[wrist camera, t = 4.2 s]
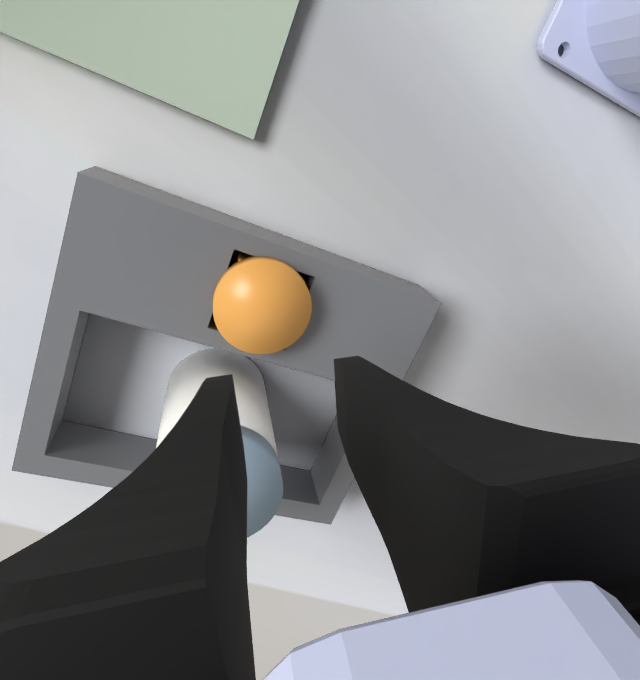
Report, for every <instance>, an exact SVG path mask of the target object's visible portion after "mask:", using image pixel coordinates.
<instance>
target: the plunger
mask: <svg viewBox="0 0 640 680" xmlns="http://www.w3.org/2000/svg"><path fill="white" fill-rule="evenodd" d="M311 312H312V302H311V296H310V293H309V290H308V288H307V286H306V284H305V281H304V279H303V277H302V275H301V274H300V272H299V271H296V270H295V269H294V268H293V267H292V266H291V265H289V264H288V263H286V262H284V261H282V260H280V259H278V258H274V257H270V256H253V255H250V254H247V253H244V252H241V251H238V250H236V252H235V255H234V258H233V261H232V264H231V266H230V267H229V268H228V269H227V270H226V271H225V272H224V273H223V274H222V276H221V277H220V279H219V280H218V282H217V284H216V287H215V290H214V294H213V316H214V321H215V324H216V326H217V328H218V331H219V332H220V334H221V335H222V336H223V337H224V339H225V340H226V341H227V342H229V343H230V344H231V345H232V346H234V347H235V348H237V349H239V350H241V351H244V352H247V353H252V354H270V353H275V352H278V351H281V350H283V349H285V348H287V347H289V346H290V345H292V344H293V343H294V342H295V341H297V340H298V339H299V338H300V336H301V335H302V334H303V333H304V331H305V330H306V328H307V326H308V324H309V321H310V317H311Z"/></svg>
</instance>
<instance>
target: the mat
mask: <svg viewBox="0 0 640 680" xmlns="http://www.w3.org/2000/svg"><path fill="white" fill-rule="evenodd" d="M298 3H299V0H0V32H2V33H4V34H6V35H9V36H11V37H13V38H16V39H18V40H20V41H23V42H25V43H28V44H30V45H32V46H35V47H37V48H39V49H42V50H44V51H46V52H49V53H51V54H53V55H56V56H58V57H60V58H63V59H65V60H67V61H70V62H72V63H74V64H77V65H79V66H82V67H84V68H86V69H89V70H91V71H93V72H96V73H98V74H100V75H103V76H105V77H107V78H110V79H112V80H114V81H117V82H119V83H121V84H124V85H126V86H129V87H131V88H133V89H136V90H138V91H140V92H143V93H145V94H147V95H150V96H152V97H154V98H157V99H159V100H161V101H164V102H166V103H168V104H171V105H173V106H176V107H178V108H180V109H183V110H185V111H187V112H190V113H192V114H194V115H197V116H199V117H201V118H204V119H206V120H208V121H211V122H213V123H215V124H218V125H220V126H222V127H225V128H227V129H230V130H232V131H234V132H237V133H239V134H241V135H244V136H246V137H248V138H251V139H253V140H254V137H255V134H256V131H257V127H258V124H259V121H260V118H261V115H262V112H263V109H264V106H265V103H266V100H267V97H268V94H269V91H270V88H271V85H272V82H273V79H274V76H275V73H276V70H277V67H278V64H279V60H280V57H281V54H282V51H283V48H284V45H285V42H286V39H287V36H288V33H289V30H290V27H291V24H292V21H293V18H294V15H295V12H296V9H297V6H298Z"/></svg>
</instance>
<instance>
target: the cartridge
mask: <svg viewBox="0 0 640 680" xmlns="http://www.w3.org/2000/svg"><path fill="white" fill-rule="evenodd" d="M230 374H232V375H233V381H234V388H235V394H236V400H237V407H238V413H239V419H240V425H241V432H242V438H243V444H244V453H245V462H246V472H247V537H249V536H251V535H253V534H255V533H256V532H258V531H259V530H260V529H262V528H263V527H264V526H265V525H266V524H267V523H268V522H269V521H270V520H271V519H272V518H273V516H274V515H275V514H276V512H277V510H278V508H279V506H280V504H281V501H282V496H283V480H282V475H281V470H280V464H279V459H278V454H277V448H276V443H275V438H274V433H273V427H272V422H271V417H270V412H269V406H268V401H267V396H266V391H265V385H264V381H263V377H262V375H261V372H260V371H259V369H258V368H257V366H256V365H255V364H254V363H253V362H252V361H251V360H250V359H249V358H247V357H246V356H244V355H240V354H236V353H233V352H229V351H226V350H222V349H218V348H212V349H205V350H201V351H198V352H196V353H193V354H191V355H190V356H188V357H186V358H185V359H184V360H182V361H181V362H180V363H179V364H178V365H177V366H176V368H175V369H174V370H173V372H172V374H171V376H170V378H169V381H168V385H167V391H166V396H165V401H164V407H163V412H162V418H161V423H160V429H159V434H158V440H157V445H156V448H157V447H158V446H159V444H160V443H161V442H162V441H163V439H164V438H165V437H166V436H167V434H168V433H169V432H170V431H171V430H172V428H173V427H174V426H175V424H176V423H177V422H178V420H179V419H180V417H181V416H182V414H183V413H184V411H185V410H186V409H187V407H188V406H189V404H190V403H191V401H192V399H193V398H194V396H195V395H196V393H197V391H198V389H199V388H200V386H201V384H202V383H203V381H204V380H205V379H206V378H209V377H216V376H223V375H230Z"/></svg>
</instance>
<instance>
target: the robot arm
mask: <svg viewBox="0 0 640 680" xmlns="http://www.w3.org/2000/svg"><path fill="white" fill-rule="evenodd" d="M560 44H562V45H563V47H564V52H563V55H562V56H561V57H560V56H559V55H558V48H559V46H560ZM537 51H538V54H539V56H540V57H541V58H542V59H544V60H545V61H547V62H549V63H550V64H552V65H554V66H555V67H557V68H559V69H560V70H562V71H564V72H565V73H567V74H569V75H570V76H572V77H574V78H575V79H577V80H579V81H580V82H582V83H584V84H585V85H587V86H589V87H590V88H592V89H594V90H595V91H597V92H599V93H600V94H602V95H604V96H605V97H607V98H609V99H610V100H612V101H614V102H615V103H617V104H619V105H620V106H622V107H624V108H625V109H627V110H629V111H630V112H632V113H634V114H635V115H637V116H639V117H640V0H557V2H556V4H555V7H554V9H553V11H552V13H551V15H550V17H549V19H548V21H547V23H546V25H545V27H544V30H543V32H542V34H541V36H540V38H539V41H538V44H537ZM334 373H335V390H336V407H337V425H338V432H339V435H340V438H341V442H342V445H343V448H344V452H345V455H346V458H347V461H348V464H349V466H350V468H351V470H352V472H353V475H354V477H355V479H356V481H357V483H358V486H359V488H360V490H361V492H362V494H363V496H364V498H365V501H366V503H367V505H368V507H369V509H370V511H371V513H372V516H373V518H374V520H375V522H376V524H377V526H378V528H379V531H380V533H381V535H382V537H383V540H384V542H385V545H386V547H387V549H388V552H389V555H390V558H391V560H392V563H393V566H394V569H395V572H396V575H397V578H398V581H399V584H400V587H401V590H402V593H403V596H404V599H405V602H406V605H407V608H408V611H409V613H406V614H402V615H398V616H393V617H389V618H385V619H381V620H377V621H372V622H368V623H364V624H359V625H355V626H351V627H347V628H342V629H338V630H336V631H334V632H332V633H329V634H327V635H324V636H322V637H319V638H317V639H315V640H312V641H310V642H308V643H305V644H303V645H301V646H298V647H296V648H294V649H293V650H292V651H291V652H290V653H289V654H288V655H287V656H286V657H285V658H284V659H283V660H282V661H281V662H280V663H279V664H278V665H277V666H276V667H275V668H273V670H271V671H270V672H269V673H268V674H267V675H266V676H265V677H264V678H263V679H262V680H640V444H636V443H627V442H618V441H610V440H601V439H592V438H583V437H576V436H570V435H564V434H559V433H553V432H548V431H542V430H538V429H533V428H528V427H524V426H520V425H516V424H512V423H509V422H505V421H501V420H497V419H494V418H490V417H487V416H484V415H481V414H478V413H475V412H472V411H469V410H467V409H464V408H461V407H458V406H456V405H453V404H451V403H448V402H446V401H443V400H441V399H439V398H437V397H435V396H433V395H430V394H428V393H426V392H424V391H422V390H420V389H418V388H416V387H414V386H412V385H410V384H408V383H406V382H404V381H403V380H401V379H399V378H397V377H395V376H394V375H392V374H390V373H388V372H387V371H385V370H383V369H382V368H380V367H378V366H376V365H375V364H373V363H371V362H369V361H368V360H366V359H364V358H362V357H360V356H351V357H345V358H338V359H334ZM246 560H247V472H246V462H245V453H244V444H243V438H242V432H241V425H240V419H239V413H238V407H237V400H236V394H235V388H234V381H233V375H232V374H230V375H223V376H216V377H209V378H206V379H205V380H204V381H203V383H202V384H201V386H200V388H199V389H198V391H197V393H196V395H195V396H194V398H193V399H192V401H191V403H190V404H189V406H188V407H187V409H186V410H185V411H184V413H183V414H182V416H181V417H180V419H179V420H178V422H177V423H176V424H175V426H174V427H173V428H172V430H171V431H170V432H169V433H168V434H167V436H166V437H165V438H164V439H163V441H162V442H161V443H160V444H159V446H158V447H157V448H156V449H155V450H154V451H153V452H152V453H151V455H150V456H149V457H148V458H147V459H146V460H145V461H143V462H142V463H141V464H140V465H139V466H138V467H137V468H136V469H135V470H134V471H133V472H132V473H131V474H130V475H129V476H128V477H126V478H125V479H124V480H123V481H121V482H120V483H119V484H118V485H117V486H115V487H114V488H113V489H112V490H110V491H109V492H108V493H107V494H106V495H104V496H103V497H102V498H101V499H99V500H98V501H97V502H96V503H94V504H93V505H91V506H90V507H89V508H87V509H86V510H84V511H83V512H82V513H80V514H79V515H77V516H76V517H74V518H73V519H71V520H70V521H68V522H67V523H65V524H64V525H62V526H61V527H59V528H58V529H56V530H55V531H53V532H51V533H50V534H48V535H47V536H45V537H43V538H42V539H40V540H39V541H37V542H35V543H33V544H31V545H29V546H28V547H26V548H24V549H22V550H21V551H19V552H17V553H15V554H14V555H12V556H10V557H8V558H7V559H5V560H3V561H1V562H0V680H256V678H255V666H254V657H253V656H254V655H253V644H252V633H251V623H250V611H249V599H248V588H247V564H246Z"/></svg>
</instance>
